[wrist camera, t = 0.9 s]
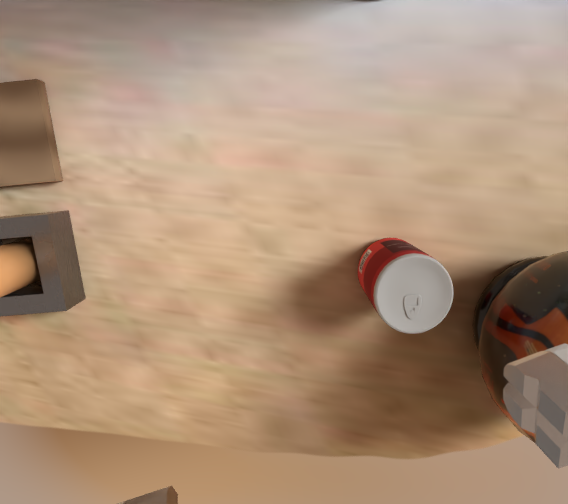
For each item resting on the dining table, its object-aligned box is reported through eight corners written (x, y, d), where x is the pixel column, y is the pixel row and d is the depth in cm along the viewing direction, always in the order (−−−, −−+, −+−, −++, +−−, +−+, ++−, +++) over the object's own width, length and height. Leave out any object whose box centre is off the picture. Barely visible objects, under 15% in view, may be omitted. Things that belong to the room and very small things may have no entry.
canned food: (366, 307, 52) (386, 344, 41) (348, 247, 50) (364, 268, 40) (426, 289, 51) (463, 321, 40) (410, 228, 50) (443, 244, 39)
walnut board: (-52, 91, 47) (-62, 89, 46) (44, 82, 47) (36, 79, 46) (-29, 189, 49) (-39, 189, 48) (63, 180, 49) (56, 181, 48)
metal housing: (-22, 218, 50) (-52, 223, 46) (68, 210, 50) (47, 214, 45) (-2, 306, 52) (-28, 318, 48) (85, 298, 52) (66, 310, 47)
